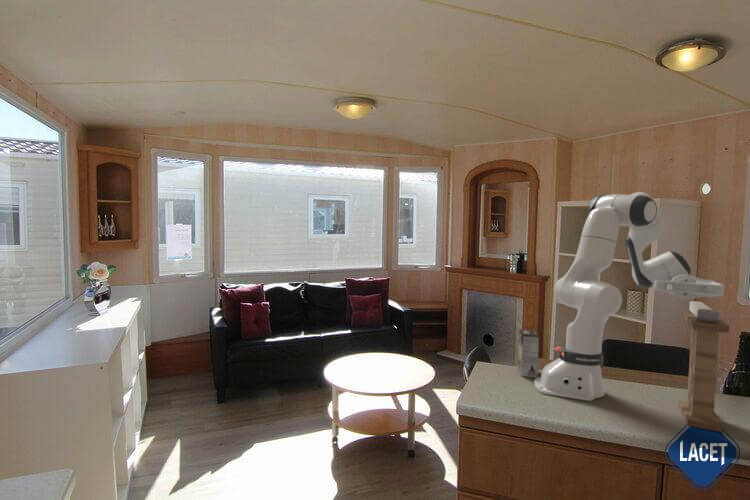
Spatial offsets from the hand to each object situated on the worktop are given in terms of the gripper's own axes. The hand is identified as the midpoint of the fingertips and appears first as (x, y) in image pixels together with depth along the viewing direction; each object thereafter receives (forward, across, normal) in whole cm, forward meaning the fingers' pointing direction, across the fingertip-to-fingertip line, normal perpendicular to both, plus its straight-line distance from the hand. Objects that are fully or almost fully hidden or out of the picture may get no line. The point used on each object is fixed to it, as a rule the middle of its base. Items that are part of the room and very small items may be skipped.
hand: (690, 288), depth 146 cm
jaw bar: (+18, 0, +7) cm, 20 cm away
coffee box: (+6, -51, +37) cm, 63 cm away
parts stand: (+21, 0, +38) cm, 43 cm away
